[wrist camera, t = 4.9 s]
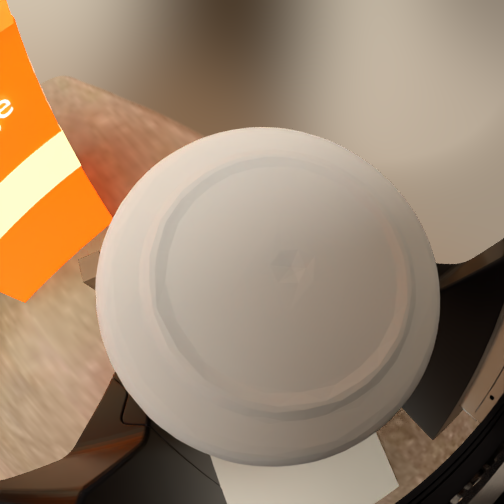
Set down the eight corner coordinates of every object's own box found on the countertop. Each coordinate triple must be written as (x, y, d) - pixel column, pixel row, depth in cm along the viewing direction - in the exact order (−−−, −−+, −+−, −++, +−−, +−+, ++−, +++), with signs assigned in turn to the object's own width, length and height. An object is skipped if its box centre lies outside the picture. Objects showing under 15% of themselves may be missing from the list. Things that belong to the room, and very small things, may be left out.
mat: (394, 483, 13) (399, 486, 12) (262, 553, 10) (263, 558, 10) (343, 372, 15) (347, 372, 15) (187, 445, 13) (186, 448, 12)
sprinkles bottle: (287, 324, 16) (466, 209, 4) (251, 395, 14) (378, 511, 2) (215, 288, 16) (215, 79, 4) (177, 357, 15) (19, 339, 2)
